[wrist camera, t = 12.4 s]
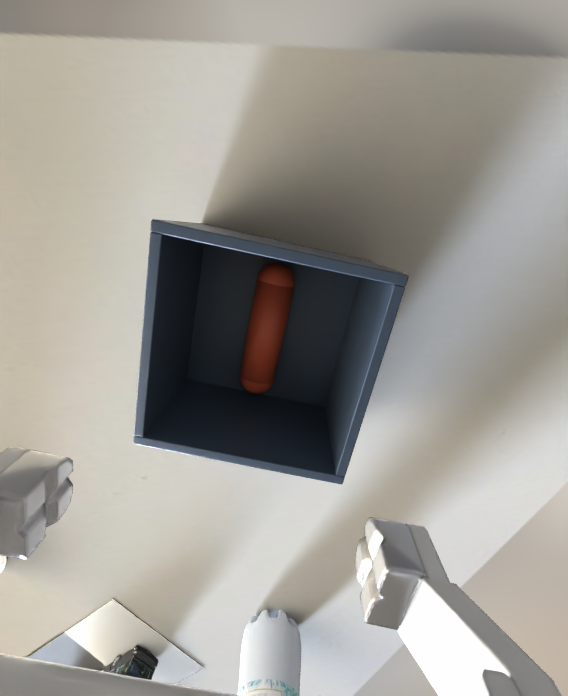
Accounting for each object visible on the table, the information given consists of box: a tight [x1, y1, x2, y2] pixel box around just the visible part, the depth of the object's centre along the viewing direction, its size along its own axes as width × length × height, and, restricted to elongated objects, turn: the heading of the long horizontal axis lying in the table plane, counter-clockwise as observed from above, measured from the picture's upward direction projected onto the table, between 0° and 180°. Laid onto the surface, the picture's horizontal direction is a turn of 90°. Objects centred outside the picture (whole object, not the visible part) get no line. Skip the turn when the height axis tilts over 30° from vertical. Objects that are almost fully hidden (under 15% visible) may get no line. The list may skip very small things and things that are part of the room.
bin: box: [133, 219, 408, 484], centre depth 24 cm, size 13×13×10 cm
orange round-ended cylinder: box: [240, 262, 295, 394], centre depth 27 cm, size 10×3×3 cm, turn 168°
